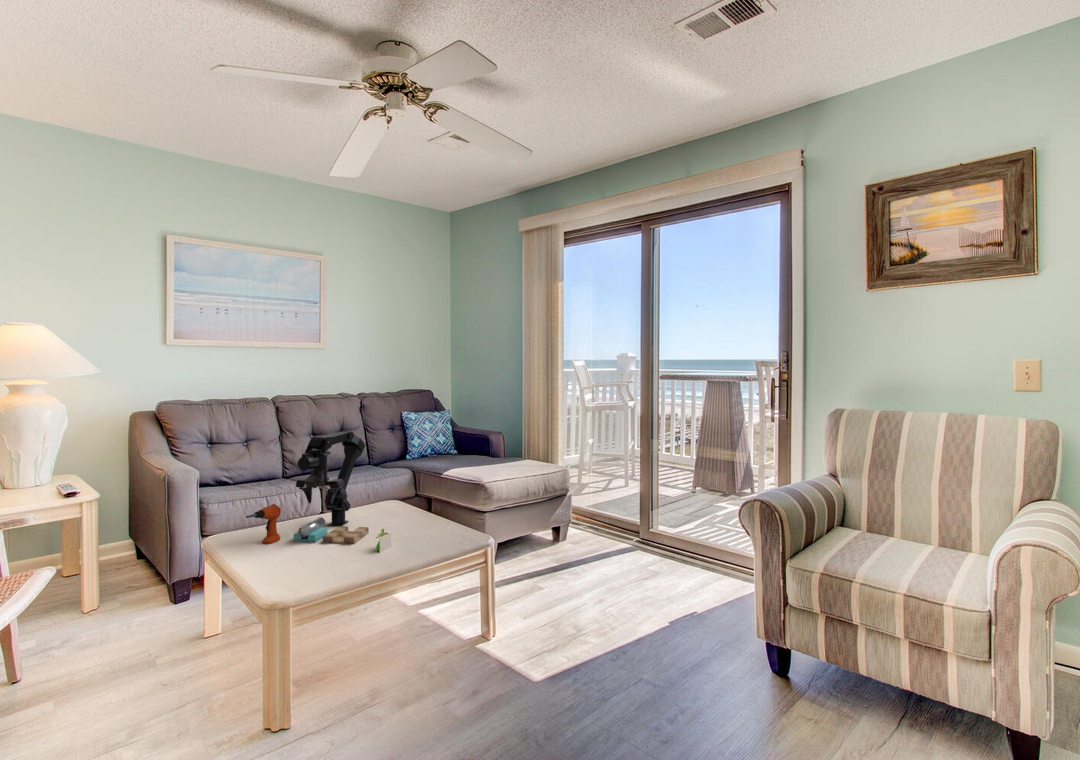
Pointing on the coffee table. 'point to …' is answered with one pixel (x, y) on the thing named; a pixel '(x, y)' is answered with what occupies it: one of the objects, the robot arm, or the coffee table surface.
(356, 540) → the wooden channel block
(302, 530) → the axle
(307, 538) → the v block
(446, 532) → the coffee table surface
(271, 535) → the toy drill
